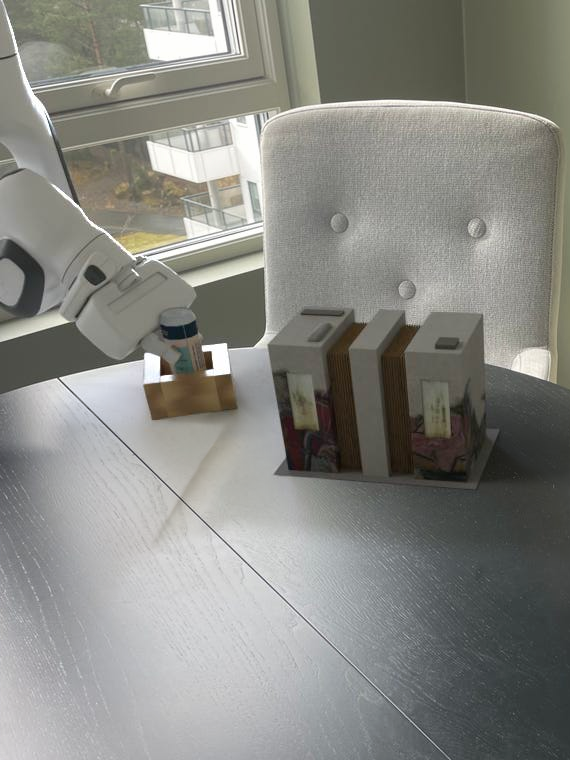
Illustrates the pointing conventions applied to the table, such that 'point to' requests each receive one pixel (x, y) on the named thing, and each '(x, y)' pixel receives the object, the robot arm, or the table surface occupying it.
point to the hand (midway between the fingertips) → (188, 351)
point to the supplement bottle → (183, 339)
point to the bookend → (382, 397)
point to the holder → (189, 385)
